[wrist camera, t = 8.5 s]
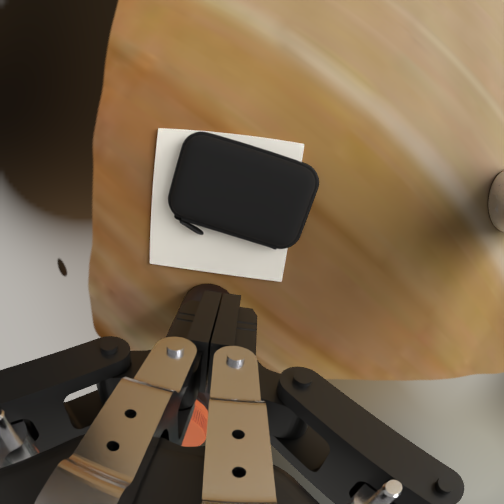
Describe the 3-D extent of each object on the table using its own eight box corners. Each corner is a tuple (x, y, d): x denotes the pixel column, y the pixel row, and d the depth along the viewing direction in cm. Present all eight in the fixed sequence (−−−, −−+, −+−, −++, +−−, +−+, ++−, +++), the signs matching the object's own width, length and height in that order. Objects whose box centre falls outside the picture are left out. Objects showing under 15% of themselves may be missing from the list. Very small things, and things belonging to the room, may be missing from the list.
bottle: (173, 307, 39) (117, 424, 20) (205, 271, 37) (157, 388, 18) (214, 337, 40) (186, 463, 21) (247, 305, 38) (237, 435, 19)
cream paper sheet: (303, 144, 32) (304, 144, 31) (281, 279, 37) (281, 281, 36) (160, 128, 31) (158, 128, 31) (151, 261, 37) (149, 263, 36)
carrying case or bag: (291, 267, 32) (157, 225, 31) (288, 257, 35) (165, 219, 34) (327, 171, 29) (184, 126, 28) (321, 169, 32) (191, 128, 31)
